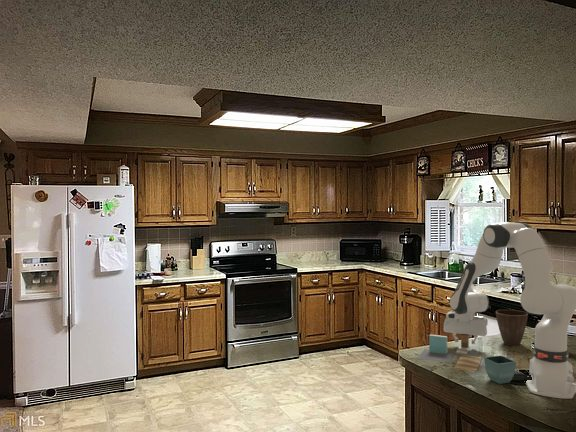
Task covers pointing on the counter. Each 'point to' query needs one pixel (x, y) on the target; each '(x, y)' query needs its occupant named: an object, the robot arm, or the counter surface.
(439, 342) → the tile
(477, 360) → the board
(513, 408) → the counter surface
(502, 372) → the flower pot
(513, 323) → the plant pot
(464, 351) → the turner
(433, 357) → the mat
